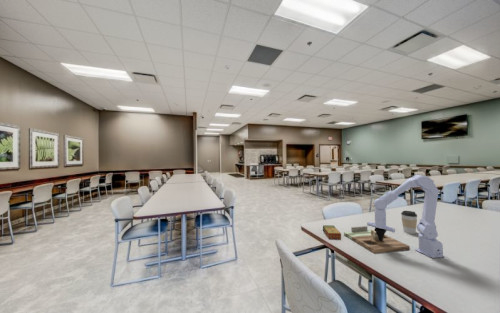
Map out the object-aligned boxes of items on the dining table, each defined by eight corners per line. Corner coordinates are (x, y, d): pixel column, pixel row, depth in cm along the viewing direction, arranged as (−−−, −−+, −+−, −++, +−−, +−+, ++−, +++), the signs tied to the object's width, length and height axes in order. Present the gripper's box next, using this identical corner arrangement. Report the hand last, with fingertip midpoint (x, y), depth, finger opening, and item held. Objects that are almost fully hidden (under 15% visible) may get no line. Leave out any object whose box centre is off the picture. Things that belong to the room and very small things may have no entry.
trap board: (409, 249, 109) (409, 240, 109) (373, 253, 105) (373, 244, 105) (373, 232, 135) (373, 225, 135) (343, 234, 131) (343, 227, 131)
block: (383, 240, 116) (383, 232, 117) (374, 240, 117) (374, 232, 117) (379, 237, 121) (379, 229, 122) (371, 237, 122) (370, 229, 122)
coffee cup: (403, 233, 133) (402, 212, 133) (400, 228, 141) (399, 209, 141) (419, 235, 129) (419, 213, 129) (415, 230, 137) (414, 210, 137)
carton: (328, 239, 125) (328, 232, 125) (322, 230, 141) (322, 224, 141) (341, 239, 124) (341, 233, 124) (334, 230, 140) (333, 225, 140)
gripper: (396, 220, 111) (397, 243, 111) (370, 214, 123) (370, 235, 123) (392, 222, 107) (392, 246, 107) (365, 216, 119) (365, 237, 119)
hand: (380, 240), depth 115 cm, fingers closed
